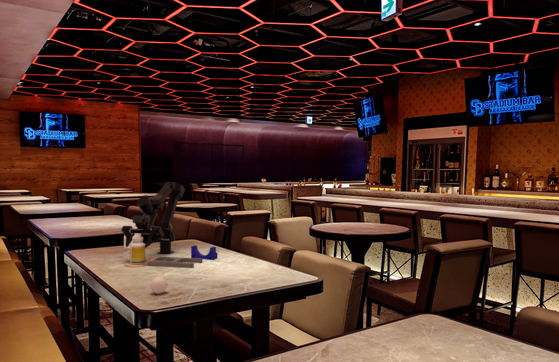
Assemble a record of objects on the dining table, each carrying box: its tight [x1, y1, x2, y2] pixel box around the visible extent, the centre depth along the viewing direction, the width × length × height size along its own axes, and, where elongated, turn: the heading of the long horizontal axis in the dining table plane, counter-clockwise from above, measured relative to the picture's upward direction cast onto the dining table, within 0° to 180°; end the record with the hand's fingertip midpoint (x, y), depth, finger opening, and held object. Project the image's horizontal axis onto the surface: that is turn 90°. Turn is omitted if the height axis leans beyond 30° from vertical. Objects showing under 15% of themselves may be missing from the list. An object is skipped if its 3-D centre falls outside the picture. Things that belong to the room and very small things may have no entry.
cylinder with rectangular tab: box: [123, 224, 142, 249], centre depth 224 cm, size 9×9×12 cm
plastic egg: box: [149, 276, 168, 295], centre depth 136 cm, size 8×6×6 cm
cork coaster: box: [124, 260, 149, 268], centre depth 180 cm, size 11×11×1 cm
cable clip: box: [190, 244, 218, 261], centre depth 194 cm, size 12×4×6 cm, turn 70°
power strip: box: [147, 256, 203, 269], centre depth 181 cm, size 12×21×2 cm, turn 80°
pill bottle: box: [129, 236, 146, 264], centre depth 180 cm, size 6×6×12 cm
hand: (135, 247), depth 178 cm, fingers open, 9 cm apart
